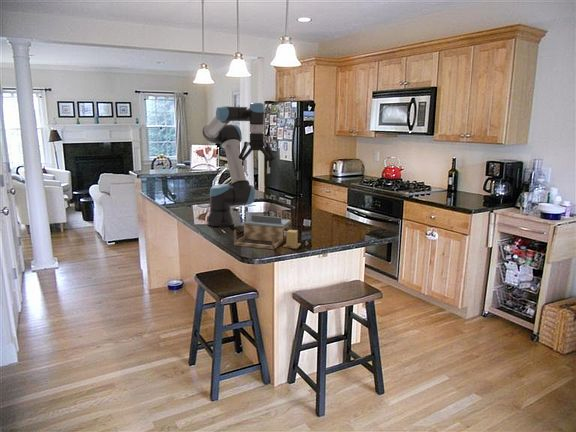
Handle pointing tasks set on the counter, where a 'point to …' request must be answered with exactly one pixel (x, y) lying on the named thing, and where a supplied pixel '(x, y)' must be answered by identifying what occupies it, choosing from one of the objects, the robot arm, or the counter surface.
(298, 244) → the cork coaster
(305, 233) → the counter surface
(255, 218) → the cover
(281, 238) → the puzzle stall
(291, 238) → the ochre block
